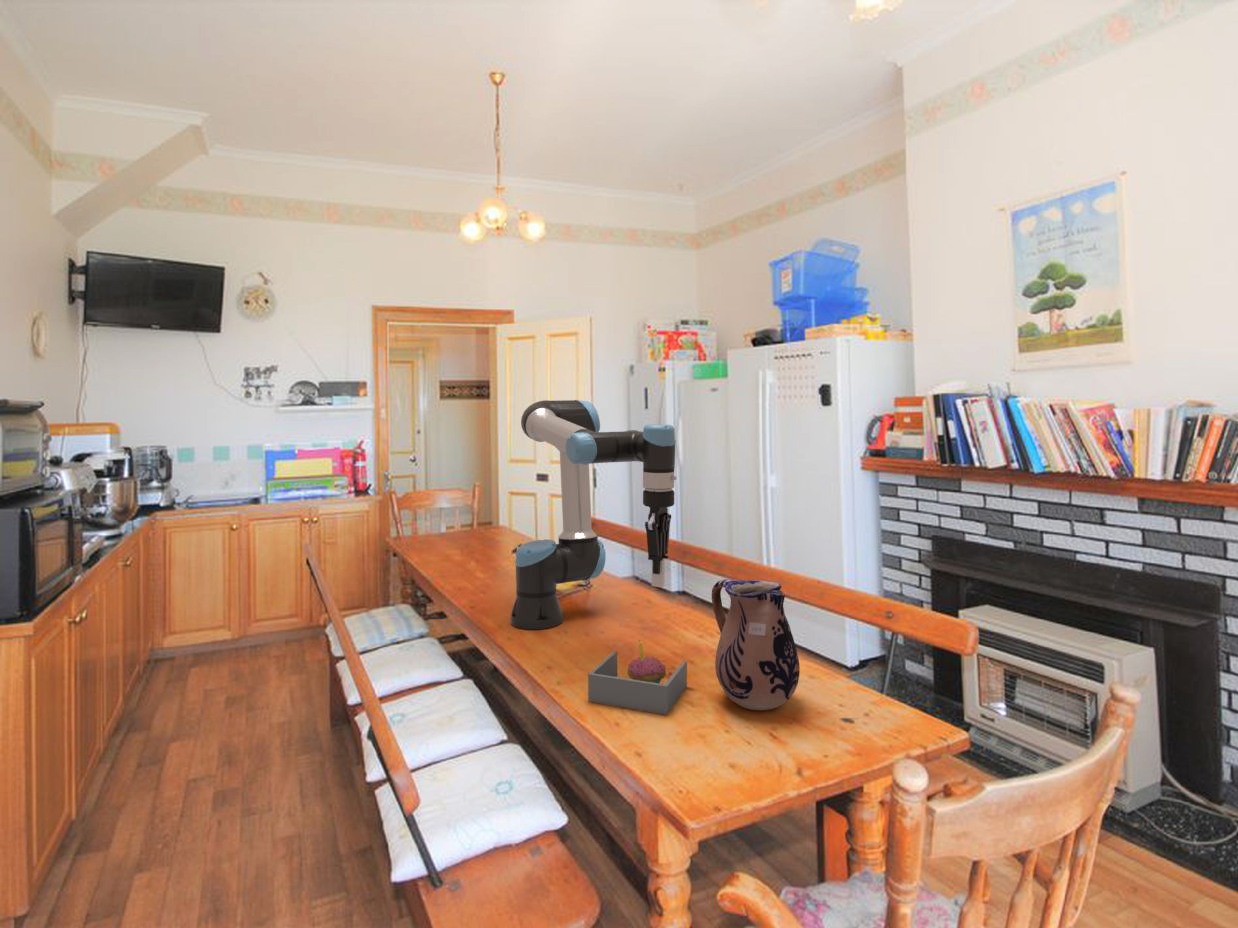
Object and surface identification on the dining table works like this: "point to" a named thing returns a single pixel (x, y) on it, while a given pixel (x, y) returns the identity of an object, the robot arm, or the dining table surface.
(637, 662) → the cupcake
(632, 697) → the box
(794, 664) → the ceramic pitcher
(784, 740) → the dining table surface
